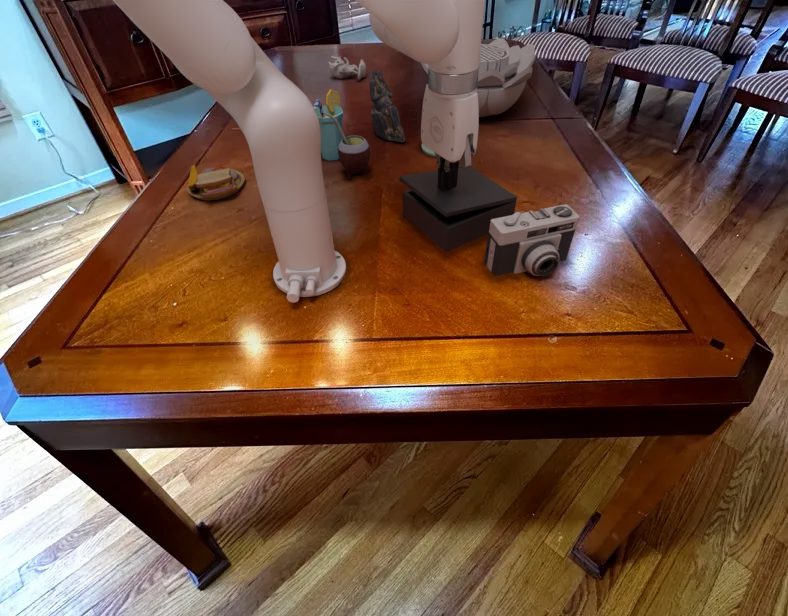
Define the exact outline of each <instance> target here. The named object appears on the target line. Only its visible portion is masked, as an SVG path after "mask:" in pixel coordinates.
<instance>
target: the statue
mask: <svg viewBox="0 0 788 616" xmlns="http://www.w3.org/2000/svg"><path fill="white" fill-rule="evenodd" d="M368 77H369V97H370V100H371V102H372V105H371V107H370V108H371V109H370V110H371V111H370V118H371V121H372V125H373V129H374V131H375V134H376V135H377V136H378V137H379V138H381V139H383V140H385V141H392V142H396V143H397V142H398V143H404V142H405V141H406V134H405V132H404V128H403V125H402V119H401V116H400V113H399V109H398V107H397V106H396V105H394V103H393V102H392V100H391V98H392V97H393V92H391V90H390V88H389V86H388V83H387V82H386V80H385V79H384V75H383V72H382V70H380V69H379V70H375V71H371V72H369V76H368Z"/></svg>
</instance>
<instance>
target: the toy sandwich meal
mask: <svg viewBox="0 0 788 616" xmlns="http://www.w3.org/2000/svg"><path fill="white" fill-rule="evenodd" d="M188 178H189V179H188V183H187V184H186V187H185V189H186V192H187V193H188V195H190V196H191V197H194V198H195V199H198V200H202V201H217V200H223V199H226V198H228V197H231V196H233V195H234V194H236V193H237V192H239V190H241V189H242V187H243V185H244V183H245V180H246V179H245V175H244V174H243V173H242V172H241V171H239V170H236V169H232V168H230V167H224V166H219V167H206V168H205V169H203V170H202V171H201V173H199V172H198V170H197V167H196V165H195V164H193V165H191V167H190V171H189V177H188Z"/></svg>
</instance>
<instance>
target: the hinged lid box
mask: <svg viewBox="0 0 788 616" xmlns="http://www.w3.org/2000/svg"><path fill="white" fill-rule="evenodd" d="M401 195H402V196H401V197H402V215H403V216H404V217H405V218H406V219H407V220H408V221H410V223H412V224H413V225H414V226H415V227H416V228H418V229H419V230H420V231H421V232H423V234H424V235H426V236H427V237H428V238H429V239H430V240H432V242H434V243H435V244H436V245H437V246H439V248H440V249H442V250H443V251H444V252H445V253H448V252H451V251H453V250H455V249H458V248H460V247H463V246H465V245H467V244H469V243H472V242H474V241H477V240H478V239H481V238H483V237H485V236H488V233H489V229H490V222H491V220H492V219H495V218H500V217H505V216H510V215H513V214H515V213H516V206H517V200H516V201H513V202H508V203H504V204H500V205H495V206H491V207H487V208H482V209H478V210H474V211H469V212H465V213H461V214H456V215H452V216H448V217H445V216H444V215H443V214H441V213H440V212H439V211H438V210H436V209H435V208H434V207H433V206H431V205H430V204H429V203H427V202H426V201H425V200H424V199H422V198H421V197H420V196H419V195H417V194H416V193H415V192H413V191H412V190H411V189H410V188H408V189H407V190H404V191H402V192H401Z"/></svg>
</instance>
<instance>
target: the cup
mask: <svg viewBox="0 0 788 616" xmlns="http://www.w3.org/2000/svg"><path fill="white" fill-rule="evenodd" d="M312 105H313V107H314V109H315V111H316V114H317V117H318V120H319V124H320V131H321V158H322V159H323V160H326V161H337V160H340V159H339V156H338V146H339V144H340V142H341V140H342V139H343V137H342V135H341V133H340V131H339V129H338V127H337V125H335V123H334V121H333V119H331V118H330V117H329V116H327V115H325V114H324V113H323V112H325V113H328V114H330V115H332V116H333V117H334V118H335V119H337V120H338V122H339V125H340V127H341V129H342V130H343V118H344V111H343V107H342V106H341V95H340V93H339V90H338V89H333V88H330V89H329V90H328V92H327V93H326V95H325V104H324V105H322V101H321V100H319V99H316V100H315V101H314V103H313V104H312ZM322 111H323V112H322Z"/></svg>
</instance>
